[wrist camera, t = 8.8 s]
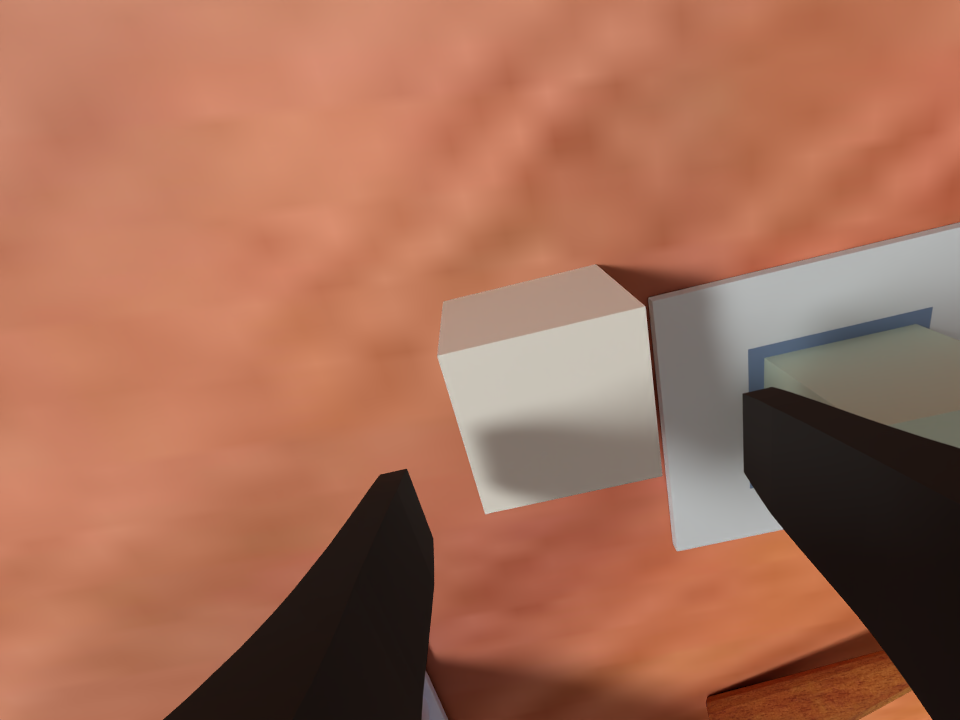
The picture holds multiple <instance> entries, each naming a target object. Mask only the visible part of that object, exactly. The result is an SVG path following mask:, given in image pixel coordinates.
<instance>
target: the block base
mask: <svg viewBox="0 0 960 720" xmlns="http://www.w3.org/2000/svg"><path fill="white" fill-rule="evenodd" d="M769 387H775V388H779V389H782V390H786V391H789V392H792V393H795V394H798V395H801V396H804V397H807V398H810V399H813V400H816V401H819V402H821V403H824V404H827V405H830V406H833V407H836V408H838V409H841V410H844V411H847V412H850V413H853V414H856V415H858V416H861V417H864V418H867V419H870V420H873V421H876V422H879V423H882V424H885V425H888V426H891V427H894V428H897V429H900V430H903V431H906V432H909V433H912V434H915V435H918V436H921V437H924V438H928V439H931V440H934V441H938V442H941V443H944V444H948V445H951V446H954V447H958V448H960V341H959V340H957V339H954V338H952V337H949V336H946V335H944V334H941V333H939V332H936V331H933V330H931V329H928V328H926V327H923V326H920V325H918V324H914V325H909V326H905V327H900V328H896V329H891V330H887V331H882V332H878V333H873V334H869V335H865V336H860V337H856V338H851V339H847V340H842V341H838V342H833V343H829V344H824V345H820V346H815V347H811V348H806V349H802V350H798V351H793V352H789V353H784V354H780V355H775V356H771V357H766V358H764V389H765V388H769Z"/></svg>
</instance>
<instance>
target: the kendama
mask: <svg viewBox="0 0 960 720" xmlns="http://www.w3.org/2000/svg"><path fill="white" fill-rule="evenodd" d="M910 691H912V689H911V688H910V686H909V685H908V683H907V682H906V681H905V679H904V678H903V676H902V675H901V674H900V672H899V671H898V669H897V668H896V667H895V665H894V664H893V662H892V661H891V660H890V658H889V657H888V655H887V654H886V653H885V651H884V650H883V651H879V652H875V653H871V654H868V655H864V656H860V657H856V658H853V659H849V660H845V661H841V662H838V663H834V664H830V665H826V666H823V667H819V668H815V669H811V670H807V671H804V672H800V673H796V674H792V675H789V676H785V677H781V678H777V679H774V680H770V681H766V682H762V683H759V684H755V685H751V686H747V687H744V688H740V689H736V690H732V691H728V692H725V693H721V694H717V695H713V696H710V697H707V701H706V706H707V711H708V715H709V718H710V720H859V719H861V718H863V717H864V716H866V715H868V714H870V713H872V712H874V711H875V710H877V709H879V708H881V707H883V706H885V705H886V704H888V703H890V702H892V701H894V700H895V699H897V698H899V697H901V696H903V695H905V694H906V693H908V692H910Z"/></svg>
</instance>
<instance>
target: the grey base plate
mask: <svg viewBox="0 0 960 720" xmlns="http://www.w3.org/2000/svg"><path fill="white" fill-rule="evenodd" d="M648 304H649V314H650V323H651V333H652V343H653V353H654V363H655V372H656V382H657V392H658V402H659V412H660V421H661V431H662V441H663V451H664V461H665V470H666V480H667V490H668V500H669V510H670V519H671V529H672V539H673V545H674V547H675V549H676V551H681V550H686V549H691V548H696V547H701V546H706V545H710V544H715V543H720V542H725V541H730V540H734V539H739V538H744V537H749V536H754V535H759V534H763V533H768V532H773V531H778V530H783V528H782V527H781V526H780V524H779V523H778V522H777V521H776V520H775V518H774V517H773V516H772V515H771V513H770V512H769V510H768V509H767V508H766V506H765V505H764V503H763V502H762V500H761V499H760V497H759V496H758V494H757V493H756V491H755V489H754V488H753V486H752V485H751V483H750V481H749V480H748V478H747V477H746V475H745V473H744V460H743V399H742V394H743V393H747V392H752V391H756V390H760V389H764V358H766V357H771V356H775V355H780V354H784V353H789V352H793V351H798V350H802V349H806V348H811V347H815V346H820V345H824V344H829V343H833V342H838V341H842V340H847V339H851V338H856V337H860V336H865V335H869V334H873V333H878V332H882V331H887V330H891V329H896V328H900V327H905V326H909V325H914V324H918V325H920V326H923V327H926V328H928V329H931V330H933V331H936V332H939V333H941V334H944V335H946V336H949V337H952V338H954V339H957V340H959V341H960V222H959V223H955V224H951V225H947V226H943V227H938V228H934V229H930V230H926V231H922V232H918V233H914V234H909V235H905V236H901V237H897V238H893V239H889V240H885V241H880V242H876V243H872V244H868V245H864V246H860V247H856V248H851V249H847V250H843V251H839V252H835V253H831V254H827V255H823V256H818V257H814V258H810V259H806V260H802V261H798V262H794V263H789V264H785V265H781V266H777V267H773V268H769V269H765V270H760V271H756V272H752V273H748V274H744V275H740V276H736V277H731V278H727V279H723V280H719V281H715V282H711V283H707V284H702V285H698V286H694V287H690V288H686V289H682V290H678V291H673V292H669V293H665V294H661V295H657V296H653V297H649V298H648Z"/></svg>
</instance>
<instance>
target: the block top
mask: <svg viewBox="0 0 960 720" xmlns="http://www.w3.org/2000/svg"><path fill="white" fill-rule="evenodd" d="M437 356H438V360H439V363H440V366H441V370H442V373H443V376H444V380H445V383H446V386H447V389H448V393H449V396H450V399H451V403H452V406H453V409H454V413H455V416H456V419H457V422H458V426H459V429H460V432H461V436H462V439H463V442H464V446H465V449H466V452H467V455H468V459H469V462H470V465H471V469H472V472H473V475H474V479H475V482H476V485H477V488H478V492H479V495H480V498H481V502H482V505H483V508H484V512H485V514H488V513H493V512H497V511H502V510H507V509H511V508H516V507H521V506H525V505H530V504H535V503H539V502H544V501H549V500H553V499H558V498H563V497H567V496H572V495H576V494H581V493H586V492H590V491H595V490H600V489H604V488H609V487H614V486H618V485H623V484H628V483H632V482H637V481H642V480H646V479H651V478H656V477H660V476H662V466H661V456H660V446H659V436H658V426H657V416H656V406H655V396H654V386H653V376H652V367H651V357H650V347H649V337H648V327H647V317H646V307H645V306H644V305H643V304H642V303H641V302H640V301H638V300H637V299H636V298H635V297H634V296H633V295H631V294H630V293H629V292H628V291H627V290H626V289H624V288H623V287H622V286H621V285H620V284H619V283H617V282H616V281H615V280H614V279H613V278H611V277H610V276H609V275H608V274H607V273H606V272H604V271H603V270H602V269H601V268H600V267H599V266H597V265H596V264H595V265H591V266H587V267H583V268H579V269H575V270H571V271H567V272H562V273H558V274H554V275H550V276H546V277H542V278H538V279H534V280H530V281H526V282H521V283H517V284H513V285H509V286H505V287H501V288H497V289H493V290H489V291H485V292H480V293H476V294H472V295H468V296H464V297H460V298H456V299H452V300H448V301H444V302H443V308H442V317H441V326H440V335H439V345H438V354H437Z"/></svg>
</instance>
